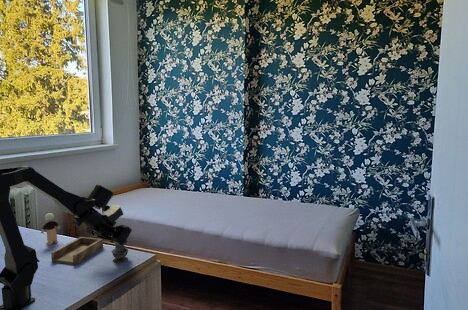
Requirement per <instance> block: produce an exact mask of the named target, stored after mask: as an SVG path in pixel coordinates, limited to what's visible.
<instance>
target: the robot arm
mask: <svg viewBox="0 0 468 310" xmlns="http://www.w3.org/2000/svg"><path fill="white" fill-rule="evenodd" d="M22 183H25V184H27V185H29V186H30V187H32V188H34V189H35V190H37V191H38V192H40V193H42V194H43V195H45V196H47V197H48V198H49V199H51V200H52V201H53V202H54V203H55V205H56V206H57V207H58V208H59V209H60V210H61V211H62V212H64V213H67V214H70V215H74V216H72V221H71V224H72V225H73V226H77V227H81V225H82V224H83V225H85V226H86V231H85V232H86V234H88V235H90V236H93V237H95V235H97V236H96V237H97V238H98V239H103V240H108V241H110V242H111V243H113V244H115V243H116V244H119V245H123V244H124V245H126V244H127V243H128V238H129V236H130V234H131V233H132V228H131V227H130V226H128V225H124V224H120V225H119V224H118V225H117V222H116V221H117V220H119V218H121V217H122V216H124V212H123V209H122V208H121V206H120V205H117V204H110V205H108V203H109V202H110V201H111V199H112V198H113V197H114V192H113V191H112V190H110V189H108V188H106V187H104V186H102V185H101V184H96V185H95V186H94V188H93V190H92V191H91V192H90V193H89V195H88V197H87V196H80V195H77V194H75V193H72V192H69V191H67V190H65V189H63V187H60V186H59V185H57V184H55V182H53V181H52V180H50V179H49V178H47V177H45V176H44V175H42V174H41V173H39V172H38V171H37V170H35V168H34V167H32V166H28V165H20V166H15V167H8V168H7V167H6V168H0V238H1V240H2V243H3V246H4V249H5V250H4V251H5V252H4V257H3V258H4V267H3V268H2V270H1V271H0V284H2V285H3V287H1V298H2V299H1V300H2V304H1V305H0V310H22V309H24V308H26V307H27V306H28V305H30V304H31V303H33V302H34V301H36V297H32V289H31V287H32V286H31V285H32V284H33V281H34V277H35V274H36V272H37V271H38V269H39V264H38V263H40V260H39V258H38V256H37V251H36V249H35V248H33V247H31V246H28V245H26V244H25V243H24V240H23V236H22V234H21V231H20V229H19V225H18V223H17V219H16V216H15V214H14V211H13V208H12V205H11V202H10V194H11V187H13V186H17V185H20V184H22ZM98 210H99V211H100V210H101V212H99V211H98ZM115 225H116V226H115Z"/></svg>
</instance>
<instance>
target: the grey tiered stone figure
mask: <svg viewBox="0 0 468 310" xmlns="http://www.w3.org/2000/svg"><path fill="white" fill-rule="evenodd" d="M114 245H115V247H114V249H112V250H111V253H112V256H113V258H114V259H112V263H114V264H123V263H126V262H128V261H129V258H128V257H127V255H128V253H129V248H127V247H125V244H123V245H119V244H116V243H114Z"/></svg>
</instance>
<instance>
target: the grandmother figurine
mask: <svg viewBox="0 0 468 310" xmlns="http://www.w3.org/2000/svg"><path fill="white" fill-rule="evenodd" d="M44 219H45V220H46V222H47V223H44V225H43V226H42V227H41V231H40V233H41V235H42V234H44V233H45V230H46V241H47V242H46V245H47V246H52V245H53V244H57V243H59V241H58V234H57V230H60V229H61V226H60V224H59V223H58V222H57V221H56V220H54V219H55V215H54V213H52V212H48V213H46V214H45V216H44ZM56 228H57V230H56Z"/></svg>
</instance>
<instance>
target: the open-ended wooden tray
mask: <svg viewBox="0 0 468 310" xmlns="http://www.w3.org/2000/svg"><path fill="white" fill-rule="evenodd" d="M103 248H104V239H101V238H98V237H97V238H96V237H86V236H79V237H78V238H76V239H74V240H72V241H70V242H68V243H66V244H65V245H64V244H63V246H61V247H59V248H57V249H55V250H53V251H51V252H50V253H51V254H50V256H51V257H50V258H51V263H58V264H65V265H71V266H72V265H74V266H77V265H78V264H80V263H81V262H82V261H84V260H86V259H88V258H89V257H91V256H92V255H93V254H96V253H97V252H98V251H100V250H101V249H103Z"/></svg>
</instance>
